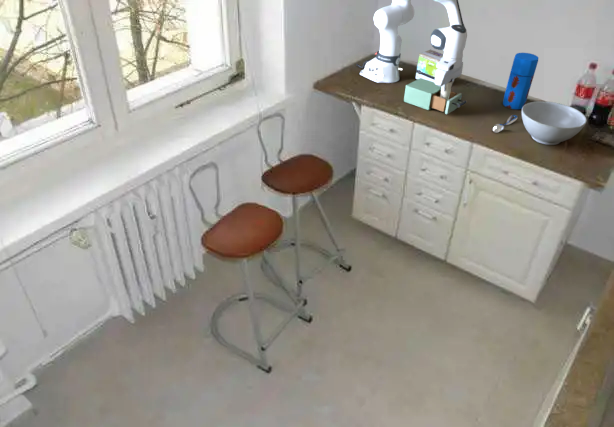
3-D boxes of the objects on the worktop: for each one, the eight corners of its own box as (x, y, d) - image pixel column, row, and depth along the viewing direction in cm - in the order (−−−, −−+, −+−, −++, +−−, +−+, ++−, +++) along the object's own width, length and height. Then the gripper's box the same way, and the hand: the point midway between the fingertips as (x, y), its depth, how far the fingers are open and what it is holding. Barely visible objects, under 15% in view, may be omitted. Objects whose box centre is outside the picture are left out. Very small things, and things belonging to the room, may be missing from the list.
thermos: (498, 104, 264) (511, 56, 249) (508, 98, 270) (521, 50, 255) (518, 111, 258) (533, 62, 243) (528, 105, 264) (542, 56, 249)
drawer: (467, 109, 256) (470, 96, 252) (455, 117, 249) (457, 104, 245) (435, 98, 266) (438, 85, 262) (422, 105, 258) (425, 93, 254)
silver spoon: (512, 109, 250) (521, 113, 247) (510, 116, 252) (519, 119, 250) (491, 125, 239) (501, 128, 236) (489, 132, 241) (499, 135, 239)
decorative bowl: (530, 119, 251) (537, 96, 244) (586, 139, 236) (596, 114, 229) (504, 137, 235) (511, 113, 228) (563, 159, 221) (572, 134, 213)
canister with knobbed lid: (436, 102, 257) (442, 74, 248) (441, 100, 260) (447, 72, 251) (445, 105, 254) (450, 77, 246) (449, 103, 257) (455, 75, 248)
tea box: (414, 79, 288) (418, 52, 279) (426, 74, 293) (430, 48, 285) (436, 87, 279) (441, 60, 270) (447, 83, 284) (453, 56, 276)
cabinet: (442, 102, 265) (445, 85, 260) (428, 110, 256) (431, 93, 251) (417, 93, 272) (420, 77, 267) (403, 101, 264) (405, 85, 259)
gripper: (456, 54, 252) (450, 81, 260) (434, 65, 240) (429, 93, 248) (468, 57, 249) (462, 85, 257) (447, 69, 236) (441, 97, 245)
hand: (446, 89), depth 253 cm, fingers closed on canister with knobbed lid, 4 cm apart
